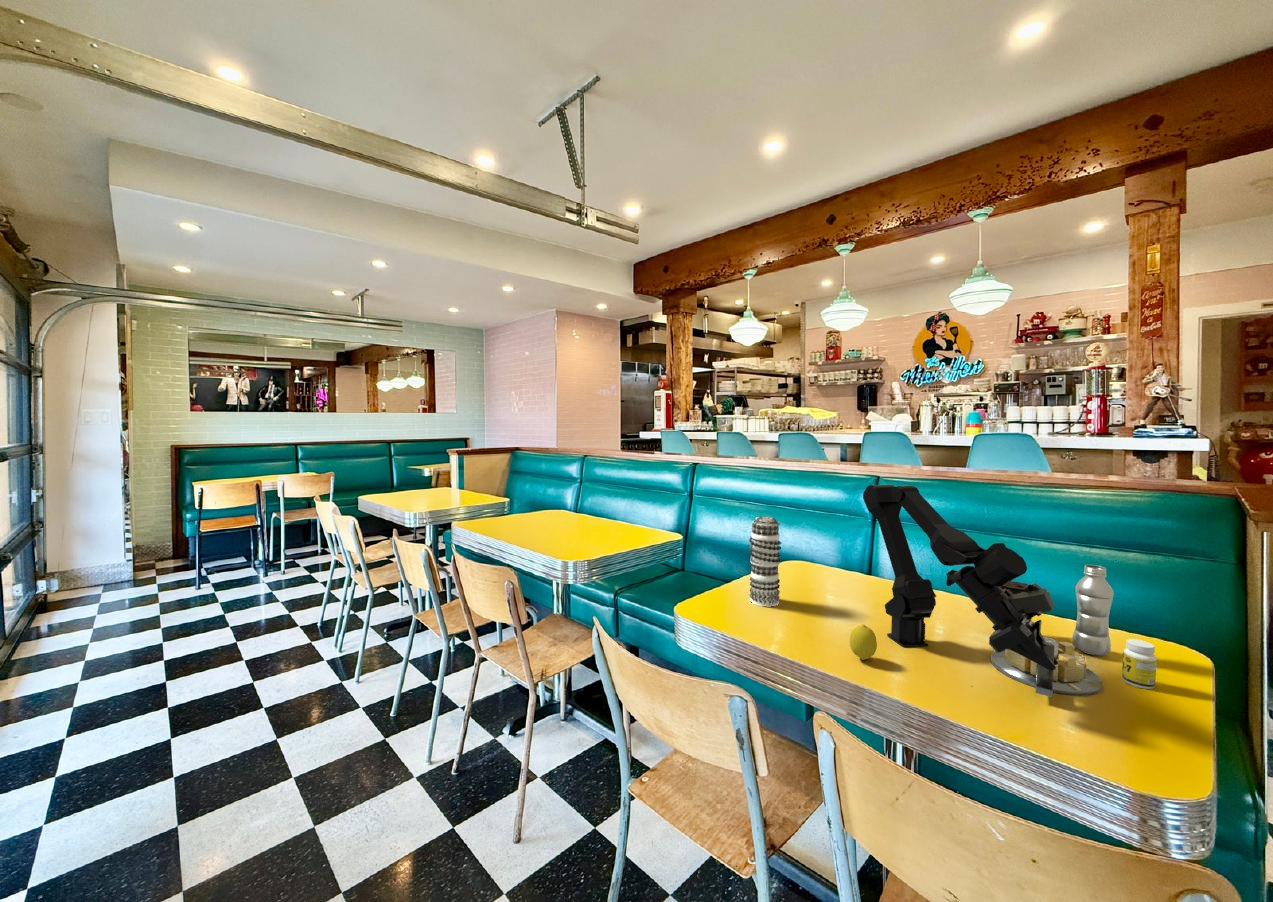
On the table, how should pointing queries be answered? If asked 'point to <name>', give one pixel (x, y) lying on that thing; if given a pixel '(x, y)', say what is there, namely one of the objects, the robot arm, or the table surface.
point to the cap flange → (1069, 688)
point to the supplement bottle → (1139, 664)
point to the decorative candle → (765, 562)
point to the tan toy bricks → (1066, 669)
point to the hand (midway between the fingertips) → (1054, 667)
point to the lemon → (863, 642)
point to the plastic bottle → (1093, 612)
